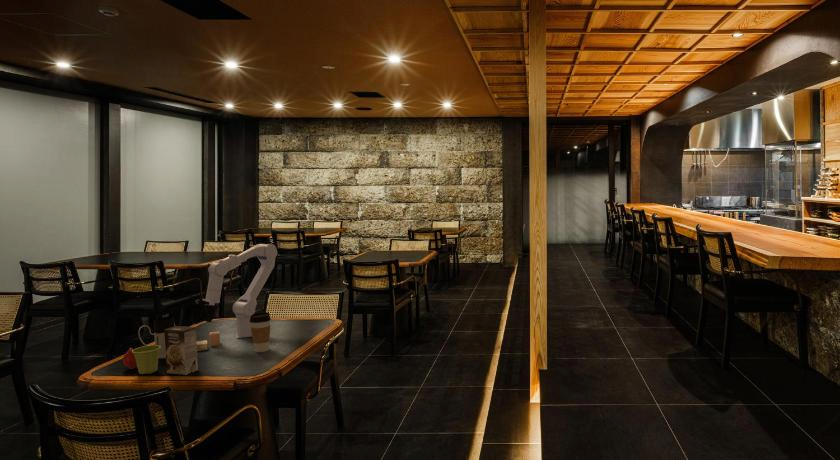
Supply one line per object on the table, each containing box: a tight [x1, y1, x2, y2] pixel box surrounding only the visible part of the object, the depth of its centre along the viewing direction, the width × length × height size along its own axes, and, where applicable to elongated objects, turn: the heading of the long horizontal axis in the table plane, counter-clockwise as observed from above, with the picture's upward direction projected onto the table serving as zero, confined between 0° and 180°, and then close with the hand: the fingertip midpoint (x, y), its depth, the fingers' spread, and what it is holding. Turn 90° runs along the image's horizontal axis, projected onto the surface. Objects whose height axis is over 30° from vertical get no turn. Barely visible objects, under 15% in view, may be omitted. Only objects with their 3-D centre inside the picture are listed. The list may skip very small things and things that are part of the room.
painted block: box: [208, 331, 221, 347], centre depth 232 cm, size 4×4×5 cm
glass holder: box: [137, 316, 176, 359], centre depth 216 cm, size 9×14×15 cm, turn 135°
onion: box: [122, 347, 137, 370], centre depth 201 cm, size 6×6×8 cm
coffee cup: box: [249, 311, 272, 353], centre depth 219 cm, size 8×8×15 cm
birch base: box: [196, 339, 209, 352], centre depth 225 cm, size 6×6×3 cm
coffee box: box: [164, 325, 199, 376], centre depth 195 cm, size 9×6×16 cm
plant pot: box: [132, 344, 161, 375], centre depth 196 cm, size 9×9×9 cm
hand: (208, 321), depth 231 cm, fingers open, 7 cm apart
